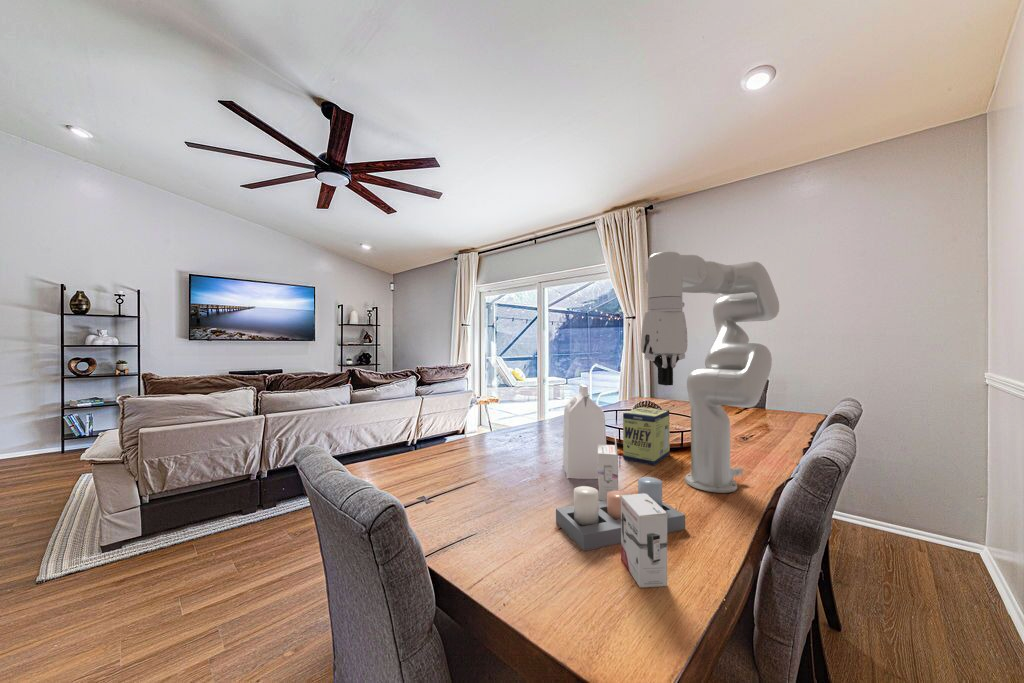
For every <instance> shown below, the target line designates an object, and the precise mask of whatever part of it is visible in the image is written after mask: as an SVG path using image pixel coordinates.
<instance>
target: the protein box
mask: <svg viewBox="0 0 1024 683" xmlns="http://www.w3.org/2000/svg"><path fill="white" fill-rule="evenodd" d="M622 414H623V415H622V425H623V426H622V432H623V433H622V434H623V438H622V439H623V440H622V442H623V443H622V444H623V445H622V447H623V448H622V450H623V451H622V452H623V457H622V459H623V460H625V461H629V462H634V463H639V464H643V465H649V466H656V465H657V464H659V463H660V462H661V461H663V460H664V459H667V457H669V456H670V451H671V450H670V438H671V437H670V410H669V409H661V408H653V407H652V408H651V407H643V406H640V407H637V408H634V409H632V410H629V411H626V412H623V413H622Z"/></svg>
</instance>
